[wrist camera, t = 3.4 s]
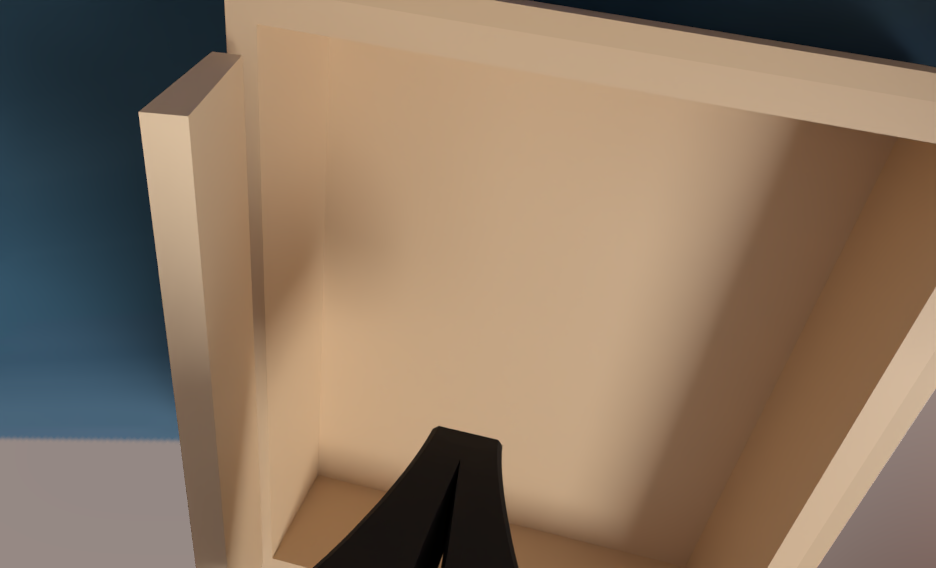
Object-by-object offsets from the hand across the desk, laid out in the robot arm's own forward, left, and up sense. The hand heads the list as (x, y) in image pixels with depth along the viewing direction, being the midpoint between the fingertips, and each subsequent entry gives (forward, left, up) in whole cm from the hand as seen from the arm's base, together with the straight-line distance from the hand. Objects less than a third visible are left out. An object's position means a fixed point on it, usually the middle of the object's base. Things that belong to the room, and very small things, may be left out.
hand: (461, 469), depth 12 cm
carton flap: (+4, 0, +1) cm, 4 cm away
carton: (-1, 0, -6) cm, 6 cm away
